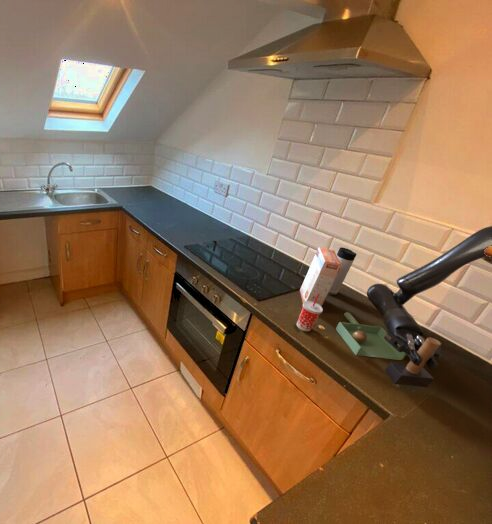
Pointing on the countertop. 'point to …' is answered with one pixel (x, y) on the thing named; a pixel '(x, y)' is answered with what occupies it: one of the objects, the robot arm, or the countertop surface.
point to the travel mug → (342, 268)
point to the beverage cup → (309, 315)
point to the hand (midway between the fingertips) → (426, 365)
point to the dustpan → (368, 340)
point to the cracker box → (320, 276)
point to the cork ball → (359, 336)
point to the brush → (414, 367)
